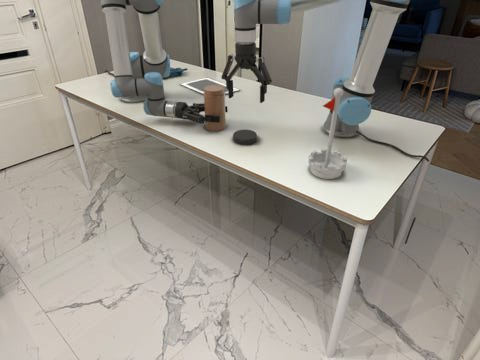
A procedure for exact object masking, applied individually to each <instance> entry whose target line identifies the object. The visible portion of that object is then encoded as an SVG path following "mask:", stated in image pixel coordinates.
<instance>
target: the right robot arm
mask: <svg viewBox="0 0 480 360" xmlns="http://www.w3.org/2000/svg"><path fill="white" fill-rule="evenodd" d="M344 1H345V2H346V0H233V20H234V42H235V44H234V51H235V52H234V53H235V55H234V54H233V53H231V54H229V55H228V56H227V61H226V64H225V67H224V68H223V71H222V74H221V76H220V77H221V78H220V79H221V80H224V81H225V84H226V88H227V89H228V94H227V95H228V99H232V98H233V97H234V92H233V87H234V80H233V77H234V76H235V74H236V73H237V72H238V71H239V70H247V71H248V70H250V72H252V73H253V74H254V76H255V78H257V81H259V83H260V84H261V85H260V86H259V104H262V103H264V102H265V101H266V100H265V99H266V98H265V97H266V96H265V95H266V94H267V93H268V86H269V85H270V84H272V83H273V80H272V78H271V75H270V73H269V71H268V68H267V65H266V63H265V57H264V56H261V57H257V43H256V41H257V29H256V28H257V25H286V24H290V22H291V19H292V15H295V14H298V13H301V12H302V13H303V12H305V11H309V10H314V9H317V8H321V7H325V6H329V5H333V4H337V3H340V2H344ZM369 1H370V2H369V3H370V5H371V8H372V10H371V13H370V16H369V20H368V21H367V25H366V28H365V31H364V34H363V36H362V40H361V42H360V46H359V49H358V52H357V55H356V58H355V61H354V64H353V67H352V70H351V73H350V76H343V77H342V76H341V77H337V78H335V79H334V82H333V85H332V87H333V88H332V93H331V100H332V99H334V98H335V96H334V90H335V89H336V88H341V89H342V90H343V95H342V96H341V97H340V101H339V107H338V113H337V120H336V126H335V132H334V137H335V138H339V139H341V138H342V139H349V138H354V137H356V136H357V135H360V136H362V137H363V138H364V139H366V140H368V141H369V142H372V143H376V144H381V145H386V146H389V147H392V148H394V149H396V150H397V151H399V152H400V153H402V154H404V155H407V156H408V157H411V158H422V159H424V160H426V162H430V159H429V158H428V157H427V156H425V155H420V154H419V155H415V154H411V153H408V152H405V151H404V150H402V149H401V148H400V147H398V146H396V145H394V144H391V143H388V142H384V141H379V140H375V139H372V138H369V137H368V136H366V135H365V134H364V133H361V131H360V124H362V123H364V122H366V121H367V120H368V119H369V118H370V116H371V113H372V104H371V102H372V100H373V98H374V95H375V92H376V90H375V88H374V86H373V85H374V83H375V80H376V78H377V75H378V72H379V69H380V67H381V64H382V62H383V59H384V56H385V54H386V51H387V48H388V45H389V43H390V40H391V38H392V35H393V32H394V30H395V27H396V24H397V22H398V20H399V19H398V18H399V17H400V15H401V14H402V13H404V12H405V11H407V9H408V6H409V4H410V1H411V0H369ZM234 61H235V62H236V64H235V65H234V66H233V63H234ZM256 63H257V64H258V65H257V64H256ZM232 66H233V69H232V70H231V68H232ZM258 66H259V68H258ZM230 70H231V71H230ZM332 114H333V111H332V110H330V109H329V112H328V115H327V117H326V120H325V121H324V123H323V126H322V130H323V132H324V133H325V134H326V135H329V134H330V127H331V121H332ZM416 219H417V217H414V218H413V219H412V222H411V225H410V227H409V230H408V233H407V236H406V239H405V240H404V244H405V245H407V243H408V241H409V238H410V234H411V232H412V229H413V227H414V224H415V222H416Z"/></svg>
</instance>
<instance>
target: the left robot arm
mask: <svg viewBox="0 0 480 360" xmlns="http://www.w3.org/2000/svg"><path fill="white" fill-rule="evenodd" d="M163 4H164V0H100V6H101V12H102V13H104V15H105V23H106V28H107V35H108V42H109V50H110V55H111V62H112V69H113V73H112V72H110V71H109V70H107V69H105V71H104V73H108V74H109V75H111V76H113V77H114V79H112V80H110V91H111V95H112V96H113V97H114V98H120V99H119V100H120V101H121V102H123V103H126V104H127V103H128V104H134V103H141V102H142V103H143V112H144V113H145V114H146V115H148V116H153V117H162V118H171V119H179V120H180V119H181V120H187V121H191V122H194V123H197V124H205V121H206V122H216V123H220V116H212V115H205V114H204V115H203V114H201V113H205V111H204V102H203V103H199V102H198V103H197V102H196V103H195V102H193V103H192V105H188V103H187V102H186V101H177V100H166V97H165V96H166V95H165V88H164V87H165V86H164V81H163V78H169V77H170V76H169V75H170V67H171V57H170V54H168V53H167V52H166V51H165V49H163V42H162V34H161V26H160V20H159V11H160V10H161V6H162V5H163ZM127 6H132V7H133V10H134V11H135V12H136V13H137V14H138V20H139V26H140V30H141V35H142V41H143V47H144V51H143V54H142V55H141V54H140V52H138V51H130V46H129V45H130V44H129V39H128V32H127V23H126V17H125V13H126V12H127ZM228 110H229V109H228V106H227V105H225V114H227V113H228Z"/></svg>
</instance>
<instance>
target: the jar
mask: <svg viewBox="0 0 480 360" xmlns="http://www.w3.org/2000/svg"><path fill="white" fill-rule="evenodd" d="M202 95H203V103H204V116H205V115H212V116H220V123H216V122H206V121H204V122H205V123H204V124H205V129H206V130H207V131H210V132H219V131H223V130H225V129H226V127H227V121H226V120H227V119H226V115H227V114H226V112H225V106H226V95H225V92H224V87H223V86H220V85H209V86H206V87H205V88H204V93H203V94H202Z"/></svg>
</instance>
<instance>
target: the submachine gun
mask: <svg viewBox="0 0 480 360" xmlns="http://www.w3.org/2000/svg"><path fill="white" fill-rule="evenodd" d="M186 71H188V67H186V68H182V67H176V68H175V67H171V66H170V75H169V76H168V77H172V76H176V75H182V74H183V73H184V72H186Z"/></svg>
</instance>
